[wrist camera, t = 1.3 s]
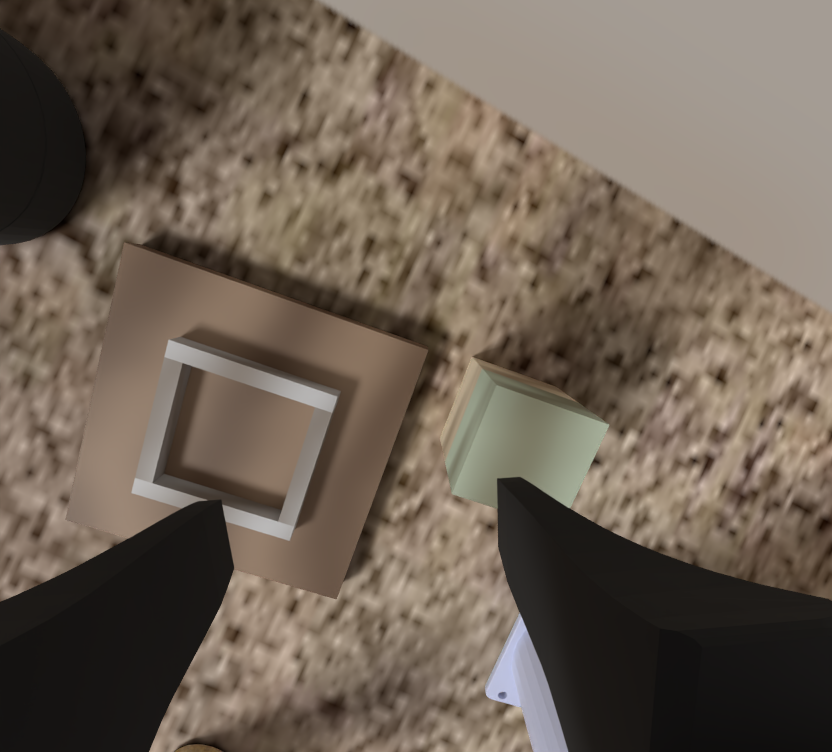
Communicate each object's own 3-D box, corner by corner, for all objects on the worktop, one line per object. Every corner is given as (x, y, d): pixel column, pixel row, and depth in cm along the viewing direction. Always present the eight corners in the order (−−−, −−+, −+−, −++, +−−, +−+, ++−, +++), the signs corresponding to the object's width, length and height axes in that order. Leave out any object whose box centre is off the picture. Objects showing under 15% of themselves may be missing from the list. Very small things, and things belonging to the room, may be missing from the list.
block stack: (555, 386, 22) (609, 424, 16) (520, 465, 23) (560, 529, 17) (471, 356, 21) (496, 385, 16) (439, 438, 22) (451, 494, 16)
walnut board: (427, 346, 21) (429, 353, 19) (340, 583, 24) (333, 613, 22) (141, 244, 20) (108, 240, 18) (83, 507, 23) (49, 531, 20)
